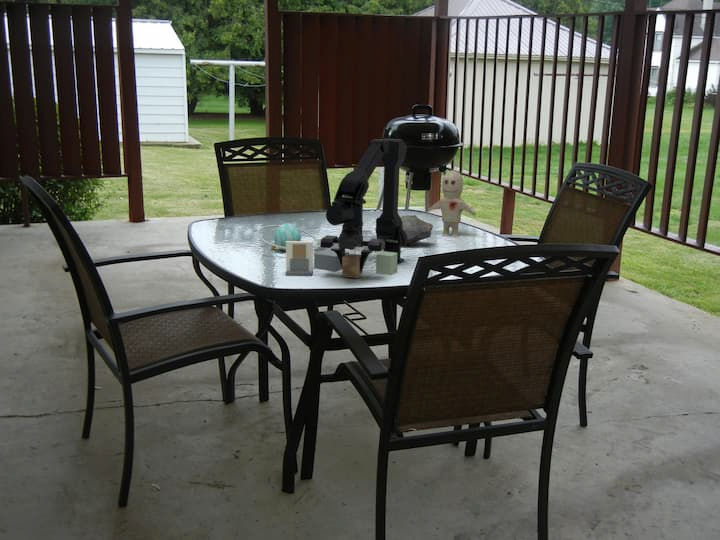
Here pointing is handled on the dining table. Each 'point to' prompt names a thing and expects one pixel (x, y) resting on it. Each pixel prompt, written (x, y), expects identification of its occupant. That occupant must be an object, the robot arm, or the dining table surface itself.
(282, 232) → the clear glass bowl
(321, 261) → the slate base
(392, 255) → the sage block
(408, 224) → the stone
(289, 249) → the plaque
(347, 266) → the walnut block
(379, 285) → the dining table surface
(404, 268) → the dining table surface
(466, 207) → the toy
